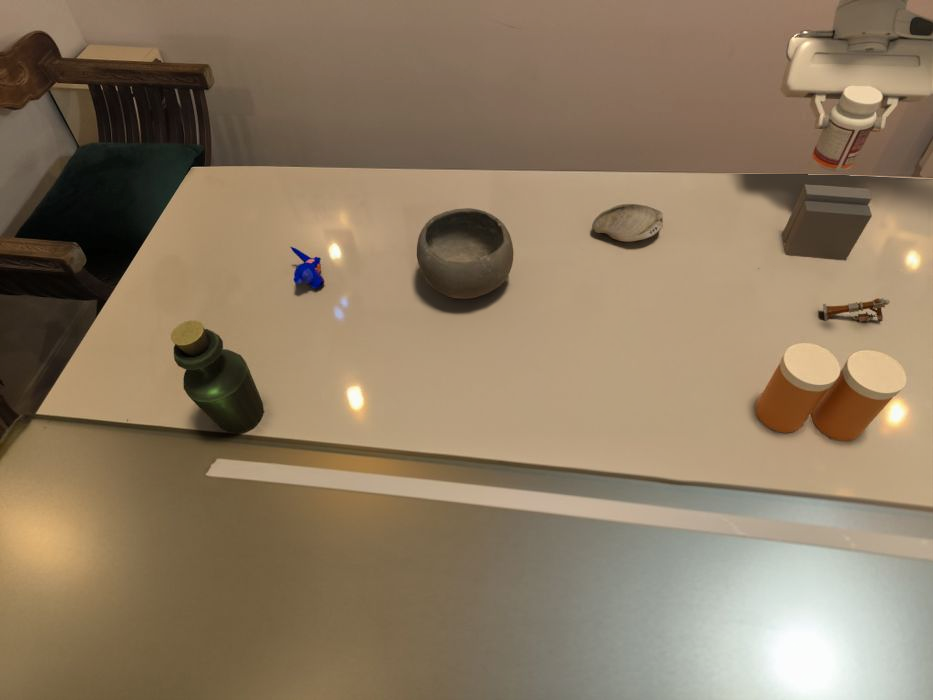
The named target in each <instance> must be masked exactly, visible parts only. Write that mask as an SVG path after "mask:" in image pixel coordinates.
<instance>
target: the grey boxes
mask: <svg viewBox="0 0 933 700" xmlns="http://www.w3.org/2000/svg"><path fill="white" fill-rule="evenodd" d="M871 195H872V194H871V193H870V189H869V188H861V187H849V186H835V185H834V186H833V185H820V184H819V185H818V184H804V185H803V188H802V190H801V192H800V194H799V196H798V198H797V201H796V202H795V205H794V207H793V210H792V212H791V214H790V216H789V218H788V221H787V223H786V225H785V227H784V228H783V231H782V234H781V236H782V241H783V247H784V253H785V255H786V256H796V257H805V258H817V259H829V260H839V261H847V259H848V258H849V255H851V254H850V253H851V252H852V251H853V249H854V247H855V245H856V244H857V242H858V240H859V238H860V237H861V235H862V234H863V232H864V231H865V229H866V227H867V225H868V223H869V222H870V220H871V218H872V217H873V214H872V211H871V208H870V205H869V204H870V203H871V200H872V196H871Z"/></svg>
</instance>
